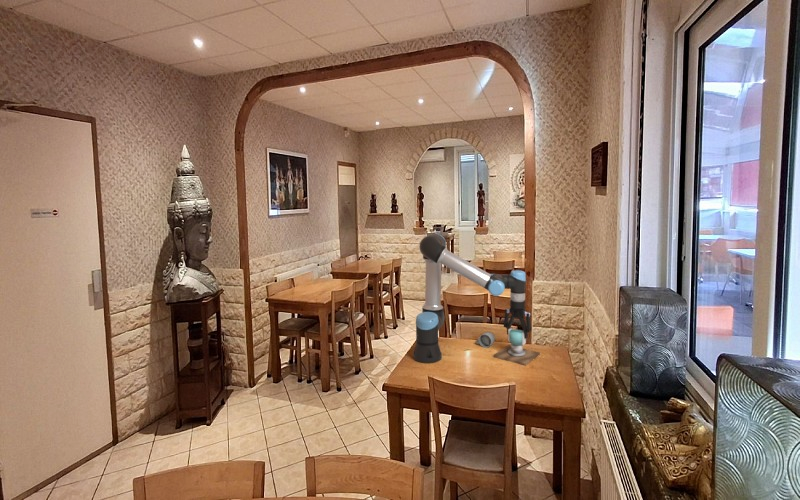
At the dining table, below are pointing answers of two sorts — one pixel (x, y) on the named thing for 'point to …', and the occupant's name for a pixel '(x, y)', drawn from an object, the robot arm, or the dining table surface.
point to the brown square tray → (516, 354)
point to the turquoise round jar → (516, 337)
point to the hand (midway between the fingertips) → (516, 342)
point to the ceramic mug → (486, 339)
